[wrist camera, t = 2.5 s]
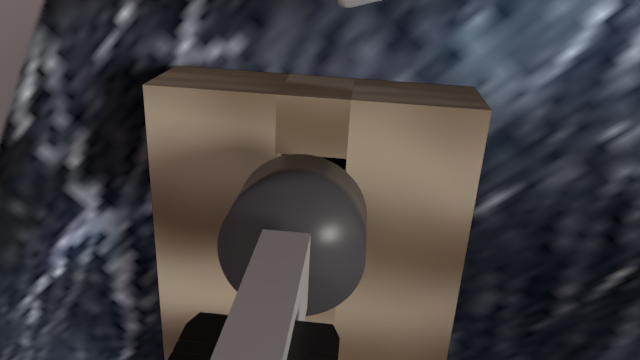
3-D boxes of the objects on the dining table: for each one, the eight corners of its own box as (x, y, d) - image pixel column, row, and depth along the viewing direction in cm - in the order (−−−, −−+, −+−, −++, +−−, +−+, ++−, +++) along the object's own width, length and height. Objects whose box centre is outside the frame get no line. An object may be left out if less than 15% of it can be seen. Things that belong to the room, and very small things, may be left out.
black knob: (363, 229, 25) (359, 323, 19) (258, 219, 26) (218, 309, 19) (373, 126, 23) (372, 193, 17) (258, 118, 24) (215, 180, 17)
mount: (408, 483, 35) (413, 545, 31) (197, 457, 36) (176, 515, 32) (474, 87, 25) (491, 110, 21) (175, 65, 26) (142, 84, 22)
